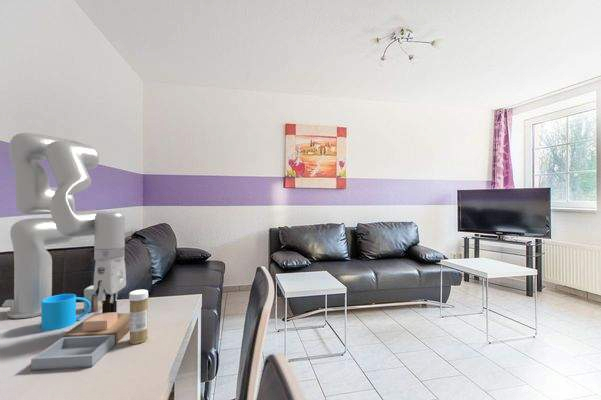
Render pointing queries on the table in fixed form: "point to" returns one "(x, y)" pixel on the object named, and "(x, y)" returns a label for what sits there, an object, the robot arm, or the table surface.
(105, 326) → the tile
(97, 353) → the tray
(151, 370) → the table surface
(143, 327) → the sprinkles bottle
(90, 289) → the small box
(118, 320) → the board
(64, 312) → the mug
